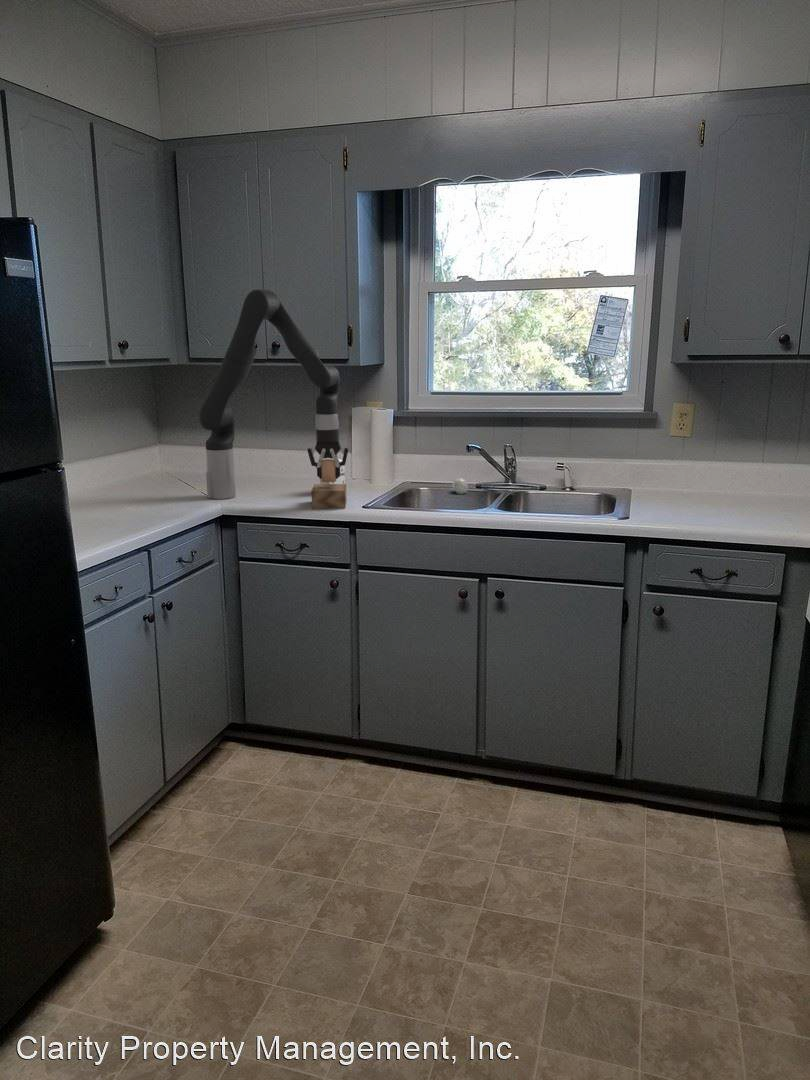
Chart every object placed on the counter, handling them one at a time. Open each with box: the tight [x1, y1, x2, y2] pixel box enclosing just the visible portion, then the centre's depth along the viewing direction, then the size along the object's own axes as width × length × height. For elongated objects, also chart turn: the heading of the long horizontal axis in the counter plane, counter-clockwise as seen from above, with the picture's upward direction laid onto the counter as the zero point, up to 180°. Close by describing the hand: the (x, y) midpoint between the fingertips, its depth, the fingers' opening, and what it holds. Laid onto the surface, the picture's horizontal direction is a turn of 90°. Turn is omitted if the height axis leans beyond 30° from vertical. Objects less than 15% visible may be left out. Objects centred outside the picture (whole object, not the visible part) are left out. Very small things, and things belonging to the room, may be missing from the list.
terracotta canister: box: [321, 458, 336, 482], centre depth 267 cm, size 5×5×7 cm
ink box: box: [319, 458, 346, 484], centre depth 289 cm, size 9×5×12 cm, turn 143°
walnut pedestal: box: [310, 483, 348, 510], centre depth 269 cm, size 11×12×6 cm
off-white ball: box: [452, 477, 469, 495], centre depth 289 cm, size 5×5×5 cm
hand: (328, 478), depth 268 cm, fingers closed on terracotta canister, 5 cm apart
